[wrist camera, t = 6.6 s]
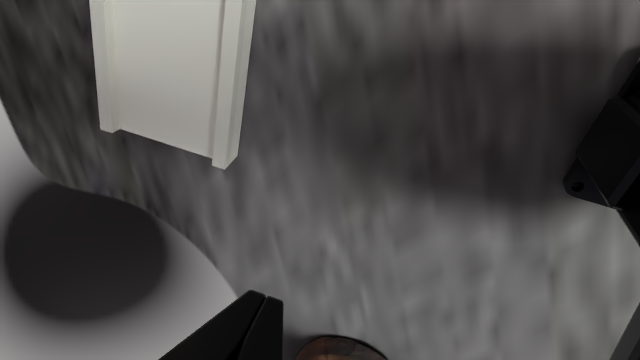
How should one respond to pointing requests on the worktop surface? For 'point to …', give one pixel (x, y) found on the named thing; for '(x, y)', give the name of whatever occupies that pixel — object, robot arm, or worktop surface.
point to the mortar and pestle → (337, 350)
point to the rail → (174, 71)
